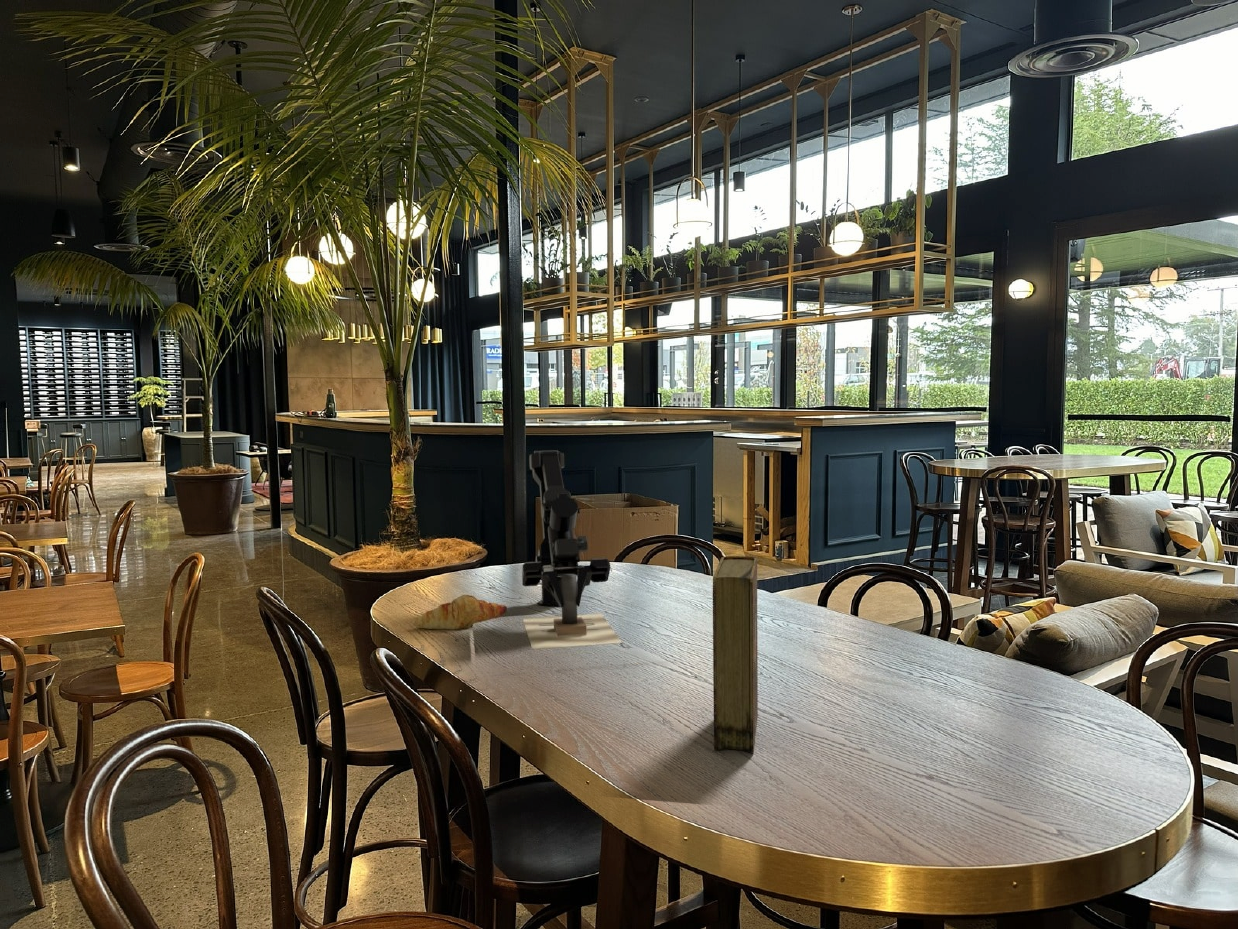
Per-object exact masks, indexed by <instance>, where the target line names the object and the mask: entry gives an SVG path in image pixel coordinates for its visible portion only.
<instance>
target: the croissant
mask: <svg viewBox="0 0 1238 929" xmlns="http://www.w3.org/2000/svg"><path fill="white" fill-rule="evenodd" d="M506 613H507V606H506V605H505V604H498V603H496V602H487V601H486V600H484V599H477V597H475V596H474V595H469V594H462V595H460V596H459V597H456V598H454V599H453V600H452V601H451V602H445V603H441V604H439V605H438V607H436V608H433V609H431V610H428V611H425V612H424V613H422V615H421V616H418V617H414V619H413V624H414V626H415V627H417V628H421V629H427V630H460V629H467V628H466V627H469V628H473V627H474V624H475V623H480V622H484V621H488V620H492V619H497V618H500V617H501V616H503V615H504V614H506ZM472 626H473V627H472Z"/></svg>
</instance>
